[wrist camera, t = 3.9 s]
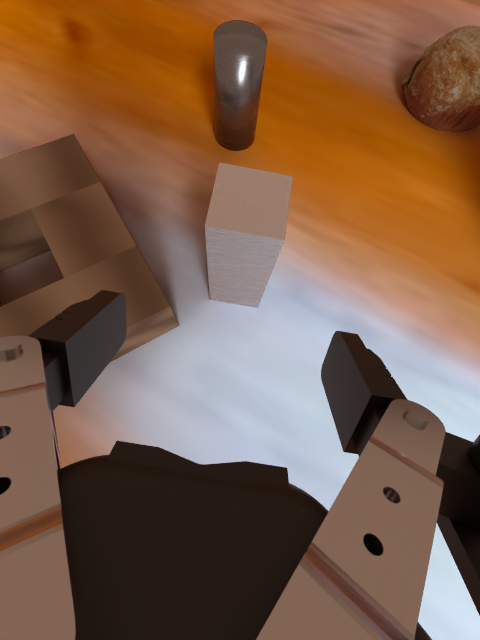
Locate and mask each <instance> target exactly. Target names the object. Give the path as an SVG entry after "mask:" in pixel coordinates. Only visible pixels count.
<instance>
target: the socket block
mask: <svg viewBox="0 0 480 640" xmlns="http://www.w3.org/2000/svg"><path fill="white" fill-rule="evenodd" d="M49 250H51V252H52V254H53V256H54V258H55V260H56V262H57V264H58V266H59V268H60V271H61V273H62V275H63V277H64V278H63V279H61V280H59V281H57V282H54V283H52V284H50V285H48V286H45V287H43V288H41V289H39V290H36V291H34V292H32V293H30V294H28V295H25V296H23V297H21V298H19V299H16V300H14V301H12V302H10V303H7V304H5V305H3V306H2V305H1V303H0V338H2V337H7V336H28V335H30V334H31V333H33V332H34V331H35V330H37V329H38V328H40V327H41V326H42V325H44V324H45V323H47V322H48V321H49V320H51V319H54V317H55V316H56V315H58V314H59V313H62V311H63V310H65V309H66V308H68V307H69V306H71V305H72V304H75V303H78V302H81V301H84V300H89V299H90V298H92V297H93V296H94V295H95V294H97V293H98V292H99V291H101V290H107V291H113V292H119V293H123V294H124V295H125V297H126V325H127V332H126V338H125V341H124V343H123V345H122V347H121V348H120V349H119V351H118V352H117V353H116V354H115V356H114V357H113V358H112V359H111V361H113V360H115V359H117V358H118V357H120V356H122V355H124V354H126V353H128V352H130V351H132V350H134V349H135V348H137V347H139V346H141V345H143V344H145V343H147V342H149V341H151V340H152V339H154V338H156V337H158V336H160V335H162V334H164V333H166V332H168V331H170V330H171V329H173V328H175V327H177V326H179V324H178V322H177V319H176V317H175V315H174V313H173V311H172V308H171V306H170V304H169V303H168V301H167V299H166V297H165V295H164V294H163V292H162V290H161V288H160V287H159V285H158V283H157V281H156V279H155V278H154V276H153V274H152V272H151V271H150V269H149V267H148V265H147V263H146V262H145V260H144V258H143V256H142V255H141V253H140V251H139V249H138V247H137V246H136V244H135V242H134V240H133V238H132V237H131V235H130V233H129V231H128V230H127V228H126V226H125V224H124V222H123V221H122V219H121V217H120V215H119V214H118V212H117V210H116V208H115V206H114V205H113V203H112V201H111V199H110V197H109V196H108V194H107V192H106V190H105V189H104V187H103V185H102V183H101V181H100V180H99V178H98V176H97V174H96V173H95V171H94V169H93V167H92V165H91V164H90V162H89V160H88V158H87V157H86V155H85V153H84V151H83V149H82V148H81V146H80V144H79V142H78V140H77V139H76V137H75V135H74V134H72V135H69V136H67V137H64V138H61V139H58V140H55V141H52V142H49V143H46V144H43V145H40V146H37V147H34V148H31V149H29V150H26V151H23V152H20V153H17V154H14V155H11V156H8V157H5V158H2V159H0V271H2V270H4V269H6V268H9V267H11V266H14V265H16V264H18V263H21V262H23V261H25V260H28V259H30V258H32V257H35V256H37V255H40V254H42V253H44V252H47V251H49ZM111 361H110V362H111Z"/></svg>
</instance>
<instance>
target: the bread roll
mask: <svg viewBox="0 0 480 640" xmlns="http://www.w3.org/2000/svg"><path fill="white" fill-rule="evenodd" d="M402 85H403V86H404V94H405V99H406V101H407V106H408V109H409V111H410V112H411V114H412V115H413V116H414V117H415V118H416V119H417V120H419V121H420V122H422V123H424V124H426V125H427V126H429V127H432V128H434V129H437V130H445V131H447V130H450V131H465V130H468V129H470V128H472V127H475V126H477V125H479V124H480V27H479V26H464V27H460V28H457V29H455V30H454V31H452V32H449V33H448V34H446V35H445V36H443V37H442V38H440V39H439V40H437V41H436V42H435V43H433V44H432V45H431V46H430V47H427V49H426V51H425V53H424V55H423V56H422V57H421V58H420V60H418V61H417V62H416V64H415V66H414V67H413V69H412V72H411V73H410V74H409V75H408V76H407V77H406V78H405V79H404V80H403V82H402Z"/></svg>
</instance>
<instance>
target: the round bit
mask: <svg viewBox="0 0 480 640" xmlns="http://www.w3.org/2000/svg"><path fill="white" fill-rule="evenodd" d="M266 48H267V37H266V34H265V33H264V31H263V30H262V29H261V28H260V27H258V26H257V25H255V24H253V23H250V22H247V21H241V20H233V21H228V22H225V23H222V24H221V25H219V26H218V27H217V28H216V30H215V32H214V106H215V138H216V140H217V142H218V143H219V144H220V145H221V146H222V147H224V148H226V149H228V150H233V151H240V150H244V149H246V148H248V147H249V146H251V144H252V143H253V141H254V137H255V130H256V122H257V115H258V107H259V100H260V92H261V85H262V77H263V70H264V62H265V55H266Z"/></svg>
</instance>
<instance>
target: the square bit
mask: <svg viewBox="0 0 480 640" xmlns="http://www.w3.org/2000/svg"><path fill="white" fill-rule="evenodd" d="M292 179H293V176H289V175H283V174H278V173H273V172H267V171H262V170H257V169H251V168H246V167H241V166H235V165H230V164H225V163H219V166H218V170H217V175H216V179H215V183H214V188H213V192H212V196H211V201H210V205H209V209H208V214H207V218H206V222H205V236H206V251H207V265H208V280H209V294H210V299H211V300H216V301H222V302H228V303H233V304H239V305H245V306H250V307H256V308H258V306H259V303H260V301H261V298H262V296H263V293H264V291H265V288H266V286H267V283H268V281H269V278H270V276H271V273H272V271H273V268H274V266H275V263H276V261H277V258H278V256H279V253H280V251H281V248H282V246H283V243H284V241H285V234H286V226H287V218H288V210H289V203H290V195H291V187H292Z"/></svg>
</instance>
